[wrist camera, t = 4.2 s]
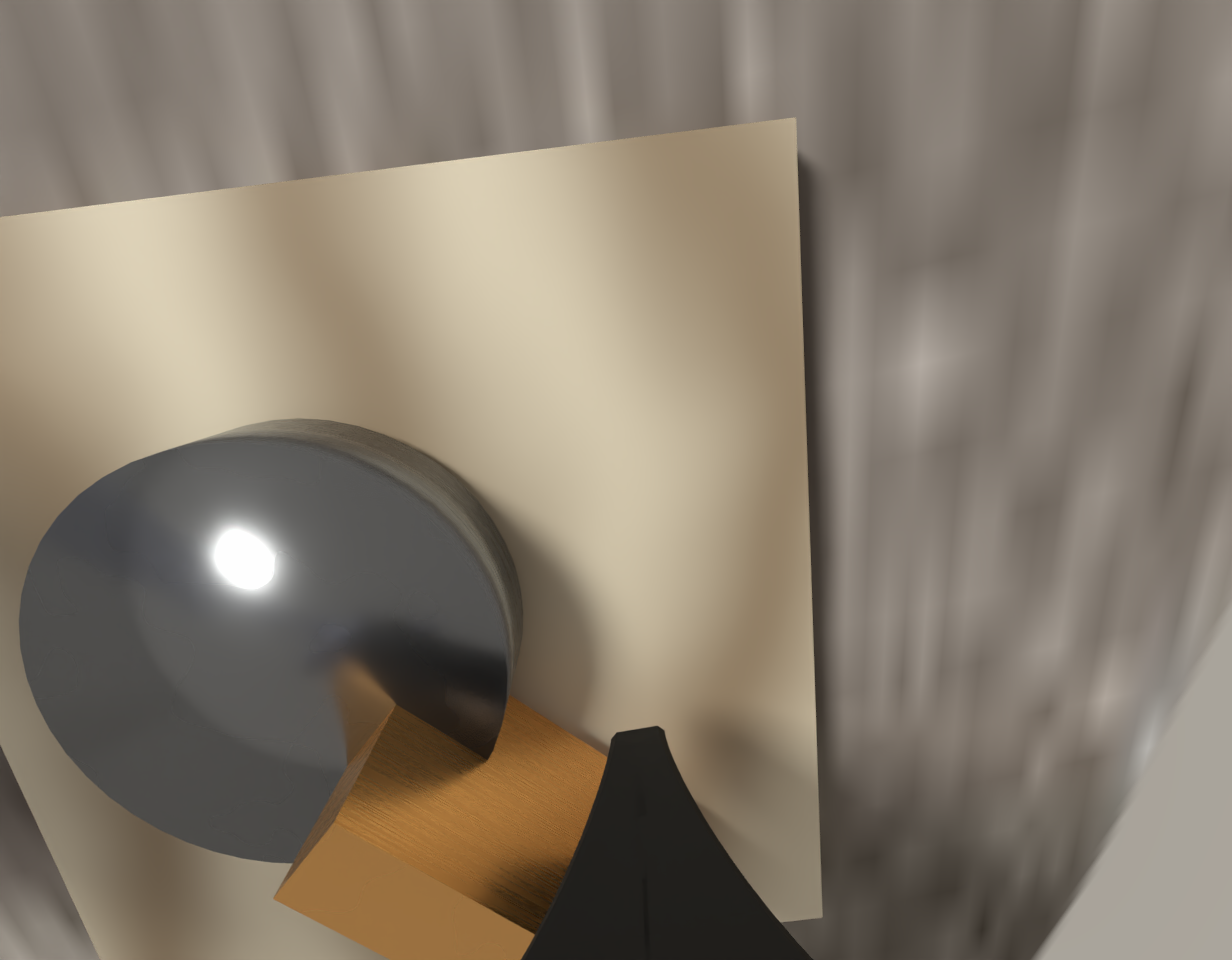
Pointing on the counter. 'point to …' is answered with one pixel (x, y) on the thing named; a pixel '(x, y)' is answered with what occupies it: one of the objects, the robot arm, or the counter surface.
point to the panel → (458, 458)
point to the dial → (313, 681)
